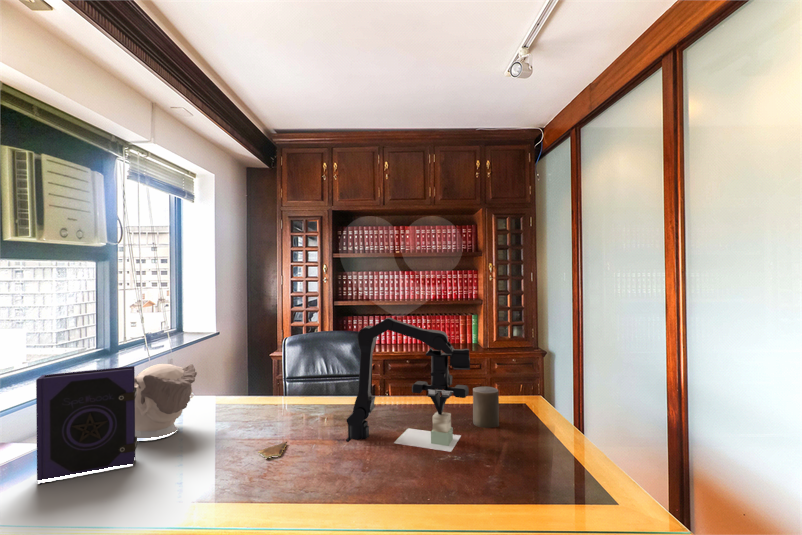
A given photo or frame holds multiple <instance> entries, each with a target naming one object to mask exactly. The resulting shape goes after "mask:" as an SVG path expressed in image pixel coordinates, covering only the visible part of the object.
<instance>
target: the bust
mask: <svg viewBox="0 0 802 535" xmlns="http://www.w3.org/2000/svg"><path fill="white" fill-rule="evenodd" d="M197 374H198V372H197V371H196V369H195V367H194V364H189V365H188V366H185V367H181V366H178V365H174V364H170V363H157V364H154V365H151V366H149V367H146V368H145V369H144V370H142V371H140V372H139V373H138V374H137V375H136V376H135V387H137V395H136V398H135V437H136V436H137V438H151V437H159V436H163V435H167V434H170V433H172V432H175V431H176V430H177V428H178V427H177V426H176V425H175V422H176V420H177V419H179V417H180V416H181V415H182V413H183V410H185V409H186V408H187V406H188V404H189V402H191V395H192V393H193V387H192V384H193V383H195V380H196V376H198V375H197Z"/></svg>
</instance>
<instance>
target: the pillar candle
mask: <svg viewBox="0 0 802 535" xmlns="http://www.w3.org/2000/svg"><path fill="white" fill-rule="evenodd" d="M499 394H500V393H499V389H498V388H496V387H493V386H476V387H473V388H472V423H473V425H474V426H476V427H477V428H478V427H479V428H482V429H483V428H485V429H489V428H490V429H491V428H492V429H493V428H495V427H500V408H499V407H500V404H499V403H500V401H499V400H500V399H499V397H500V396H499Z"/></svg>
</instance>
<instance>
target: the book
mask: <svg viewBox="0 0 802 535" xmlns="http://www.w3.org/2000/svg"><path fill="white" fill-rule="evenodd" d="M135 371H136V370H135V365H131V366H120V367H119V366H118V367H110V368H99V369H89V370H88V369H87V370H77V371H72V372H71V371H69V372H60V373H49V374H41V375H40V376H39V377H37V378H36V379H35V388H36V389H35V390H36V391H35V392H36V397H35V398H36V399H35V400H36V404H35V405H36V407H35V408H36V481H37V480H42V479H48V478H54V477H60V476H65V475H70V474H76V473H82V472H87V471H92V470H99V469H104V468H108V467H113V466H120V465H127V464H133V463H134V464H135V461H134V457H135V458H136V451H137V450H136V448H137V446H138V441H137V436H136V437H135V398H136V395H137V387H135V377H136V376H135Z"/></svg>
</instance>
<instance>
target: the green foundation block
mask: <svg viewBox="0 0 802 535" xmlns="http://www.w3.org/2000/svg"><path fill="white" fill-rule="evenodd" d="M453 428H454V427H452V426H451V429H450V430H449V431H448V432H447V433H443V432H436V431H433V429H431V443H432V444H439V445H446V446H449V444H450V443H451V441H452V440H453V434H454V429H453Z"/></svg>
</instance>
